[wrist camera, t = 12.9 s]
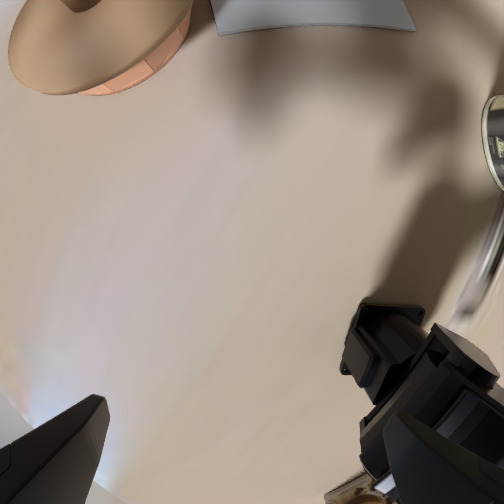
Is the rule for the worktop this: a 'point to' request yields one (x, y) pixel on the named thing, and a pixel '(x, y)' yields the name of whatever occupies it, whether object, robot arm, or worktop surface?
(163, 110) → the worktop surface
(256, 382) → the worktop surface
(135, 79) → the bowl
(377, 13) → the mat
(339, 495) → the coffee box
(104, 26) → the lid
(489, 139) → the coffee can
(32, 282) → the worktop surface
